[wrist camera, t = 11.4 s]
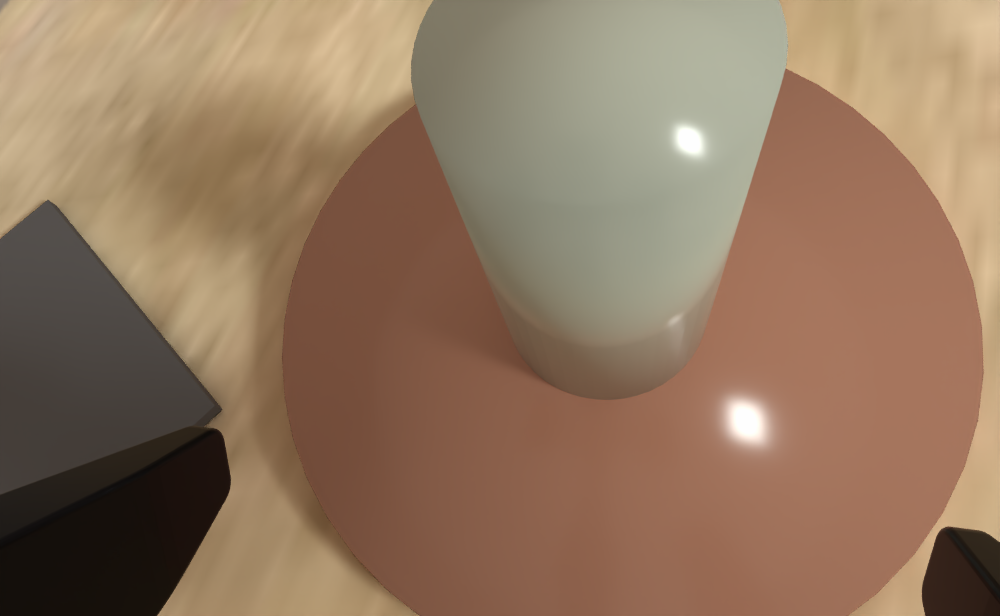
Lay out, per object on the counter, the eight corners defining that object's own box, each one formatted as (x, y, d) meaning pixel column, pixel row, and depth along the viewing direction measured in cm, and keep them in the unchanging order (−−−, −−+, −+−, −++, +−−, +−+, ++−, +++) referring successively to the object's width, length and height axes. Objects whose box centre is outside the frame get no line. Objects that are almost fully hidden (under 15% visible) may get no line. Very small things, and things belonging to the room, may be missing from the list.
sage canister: (534, 424, 17) (453, 255, 9) (486, 246, 19) (382, -27, 11) (739, 366, 17) (856, 134, 8) (668, 192, 19) (705, -131, 10)
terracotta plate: (634, 874, 14) (636, 897, 13) (188, 339, 21) (164, 325, 20) (1109, 293, 17) (1142, 272, 16) (587, -19, 23) (586, -50, 22)
